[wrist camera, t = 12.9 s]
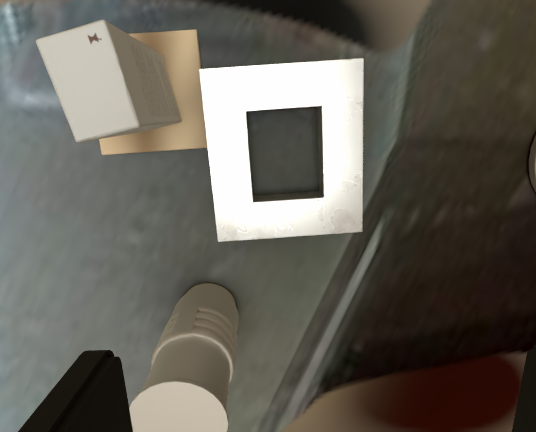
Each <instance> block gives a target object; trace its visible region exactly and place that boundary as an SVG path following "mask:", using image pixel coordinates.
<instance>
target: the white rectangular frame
mask: <svg viewBox="0 0 536 432" xmlns="http://www.w3.org/2000/svg"><path fill="white" fill-rule="evenodd" d="M199 71H200V80H201V90H202V99H203V108H204V117H205V126H206V135H207V144H208V154H209V163H210V172H211V181H212V190H213V199H214V208H215V218H216V227H217V236H218V242H221V241H235V240H250V239H264V238H279V237H293V236H307V235H322V234H336V233H351V232H362V195H363V58H361V59H346V60H331V61H316V62H301V63H286V64H272V65H257V66H242V67H227V68H212V69H199ZM306 107H316V108H317V144H318V181H319V191H314V192H300V193H285V194H270V195H256V196H253V186H252V173H251V161H250V148H249V135H248V122H247V111H262V110H277V109H291V108H306Z"/></svg>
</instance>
